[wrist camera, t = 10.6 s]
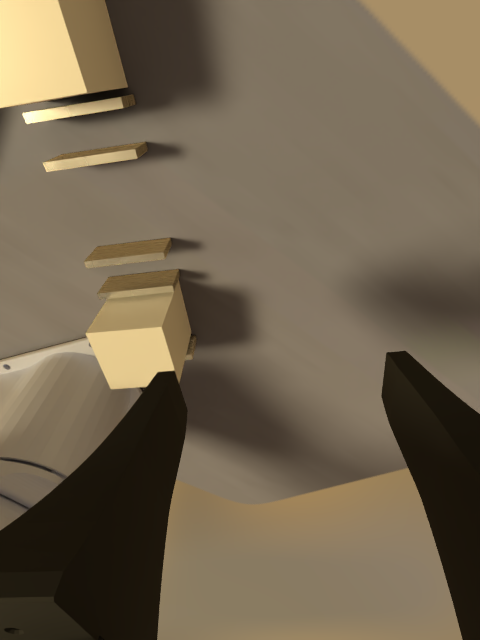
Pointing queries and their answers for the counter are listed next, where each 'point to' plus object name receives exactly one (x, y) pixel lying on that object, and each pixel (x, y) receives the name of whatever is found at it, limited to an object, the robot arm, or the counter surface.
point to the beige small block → (140, 338)
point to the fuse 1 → (56, 50)
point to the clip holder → (125, 251)
